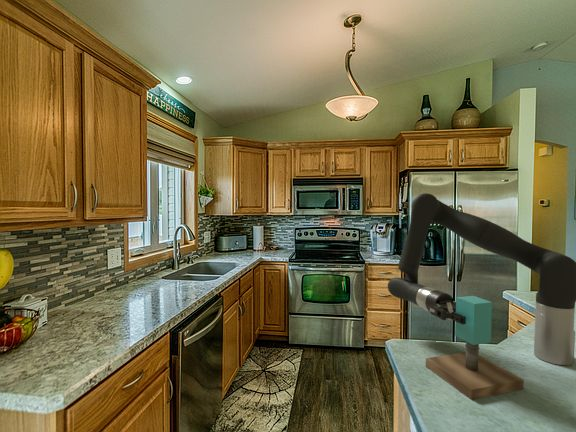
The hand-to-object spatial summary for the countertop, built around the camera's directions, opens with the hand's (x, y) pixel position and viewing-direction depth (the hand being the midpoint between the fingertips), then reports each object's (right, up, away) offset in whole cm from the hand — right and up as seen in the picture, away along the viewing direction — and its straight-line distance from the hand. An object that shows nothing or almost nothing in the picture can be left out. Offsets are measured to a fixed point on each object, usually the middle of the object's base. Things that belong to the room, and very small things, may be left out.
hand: (477, 319), depth 83 cm
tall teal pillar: (0, -6, +2) cm, 6 cm away
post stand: (-1, -17, +2) cm, 17 cm away
